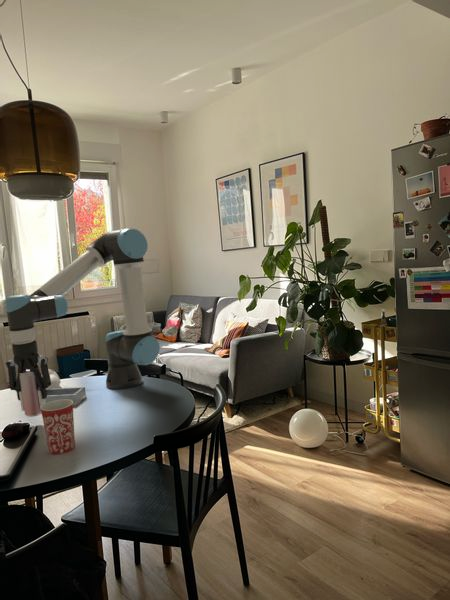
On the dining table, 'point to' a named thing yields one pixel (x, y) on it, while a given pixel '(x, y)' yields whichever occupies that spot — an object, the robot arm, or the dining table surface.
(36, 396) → the beverage can
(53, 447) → the mug
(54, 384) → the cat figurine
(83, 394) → the grey shallow rectangular tray
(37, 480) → the dining table surface
